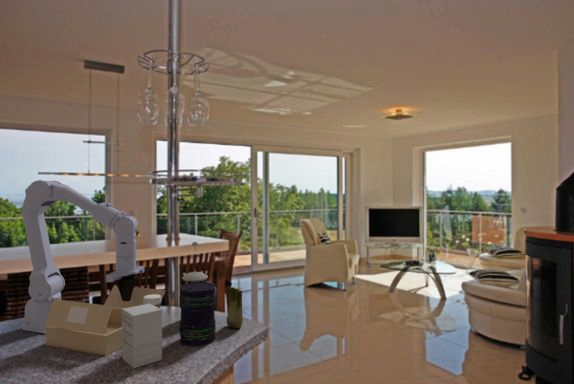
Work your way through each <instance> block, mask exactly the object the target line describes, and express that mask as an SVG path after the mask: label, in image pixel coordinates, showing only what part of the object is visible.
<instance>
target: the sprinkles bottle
mask: <svg viewBox="0 0 574 384" xmlns="http://www.w3.org/2000/svg"><path fill="white" fill-rule="evenodd" d="M143 304H152V305H154V306H156V307H158V308H160V309H161V304H162V300H161V296H160V295H157V294H152V295H146V296H144V297H143Z"/></svg>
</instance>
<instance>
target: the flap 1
mask: <svg viewBox="0 0 574 384" xmlns="http://www.w3.org/2000/svg"><path fill="white" fill-rule="evenodd" d="M112 307H113V306H106V305H104V304H99V303H88V302H83V301H82V302H81V301H73V300H65V299H61V300H58V299H54V301H53V304H52V307H51V309H50V312H49V315H48V318H47V321H46V323H45V326H49V327H56V328H62V329H69V330H75V331H82V332H89V333H95V334H102V335H104V334H105V330H106V327H107V323H108V320H109V317H110V313H111V310H112ZM113 308H114V307H113Z"/></svg>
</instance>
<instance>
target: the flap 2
mask: <svg viewBox="0 0 574 384" xmlns="http://www.w3.org/2000/svg"><path fill="white" fill-rule="evenodd" d="M165 293H166V290H165V289H157V288H156V289H155V288H146V287H138V286H134V289H133V292H132V296H131V300H130V301H122V298H121V295H120V292H119V289H118V287H117V285H116V284H114V285H113V287H112V289H111V291H110V293H109V294H108V297H107V299H106V300H105V302H104V303H103V305H106V306H113V308H121V309H124V308H129V307H134V306H139V305H144V304H143V297H144V296H146V295H152V294H157V295H160V296H161V301H162V300H163V298H164V295H165Z"/></svg>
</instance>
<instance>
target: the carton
mask: <svg viewBox="0 0 574 384" xmlns="http://www.w3.org/2000/svg"><path fill="white" fill-rule="evenodd" d="M122 309H123V308H119V307H112V310H111V313H110V317H109V320H108V323H107V327H106V330H105V334H104V335H102V334H95V333H89V332H82V331H75V330H69V329H62V328H56V327H49V326H46V334H45V345H46V346H49V347H53V348H54V347H55V348H60V349H66V350H72V351H77V352H82V353H89V354H95V355H100V356H101V355H102V356H108V355H110V354H112V353H114V352H116V351H118V350H119V349H122Z"/></svg>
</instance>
